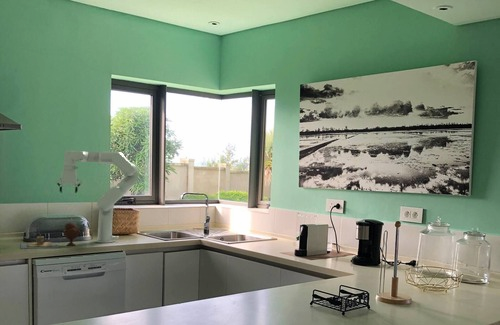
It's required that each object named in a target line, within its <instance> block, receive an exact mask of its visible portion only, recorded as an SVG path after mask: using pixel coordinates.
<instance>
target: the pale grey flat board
mask: <svg viewBox="0 0 500 325" xmlns="http://www.w3.org/2000/svg"><path fill="white" fill-rule="evenodd" d="M28 243H29V242H27V243H25V242H22V243H21V244H20V249H21V250H22V249H25V250H26V249H27V250H28V249H59V248H60V247H59V243H58V242H52V247H28Z"/></svg>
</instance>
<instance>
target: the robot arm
mask: <svg viewBox="0 0 500 325" xmlns="http://www.w3.org/2000/svg"><path fill="white" fill-rule="evenodd" d="M63 158H64V159H63V160H64V161H63V169H62V172H61V178H58V179H55V183H56V185H58V187H59V192H60V193H63V187H62V186H64V185H71V186H72V185H73V186H75V187H74V188H75V189H74V193H75V194H77V192H78V190H79V189H78V188H79V187H80V186H81V184H82V183H83V181H82V180H81V179H78V178H77V177H78V176H77V175H78V172H77V169H78V166H76V162H82V163H98V164H109V165H112V164H113V165H114V166H115V167H116V168H117V169H118V170H120V172H121V173H122V174H124V177H123V178H122V179H121V180H120V181H119V183H117V184H116V185H114V186H111V187H110V188H109V189H108V190H107V191H106V192H105V193H104V194H103V195H102V196H101V197H100V198H98V200H97V201H96V207H97V209H98V210H99V211H98V222H97V223H98V225H97V239H94V241H95V242H96V243H103V244H105V243H108V244H109V243H114V241H115V240H119V235H113V219H114V218H113V216H114V215H113V214H114V207H115V204H116V203H117V202H118V201H119V200H120V199H122V198H123V197H124V196H125V195H126V193H128V192H129V190H131V188H133V186H134V185H135V184H136V183H137V181H138V179H139V170H138V167H137V165H135V164H134V163H131V162H130V161H129V160H128V159H127V158H126V157H125V154H124V153H123V152H121V151H103V150H102V151H101V150H100V151H83V150H65V151H64V157H63ZM77 182H78V183H77Z"/></svg>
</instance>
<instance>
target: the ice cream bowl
mask: <svg viewBox="0 0 500 325" xmlns="http://www.w3.org/2000/svg"><path fill="white" fill-rule="evenodd" d="M64 228H65V230H63V231H62V233H63V236H64V237H65V238H66V239H68V240H69V243H67V244H66V246H67V247H75V246H76V244H75V243H74V242H73V241H74V240H75V239H76V238H78V237H79V236H80V233H81V230H79V227H78V226H77V225H75V224H74V223H73V222H69V223H66V224H65V226H64Z"/></svg>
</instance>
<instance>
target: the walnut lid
mask: <svg viewBox="0 0 500 325" xmlns="http://www.w3.org/2000/svg"><path fill="white" fill-rule="evenodd" d="M44 239H45V236H36V242H35V241H33V242H27V243H28V247H52V243H53V242H52V241H45V240H44ZM44 241H45V242H44Z"/></svg>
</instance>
